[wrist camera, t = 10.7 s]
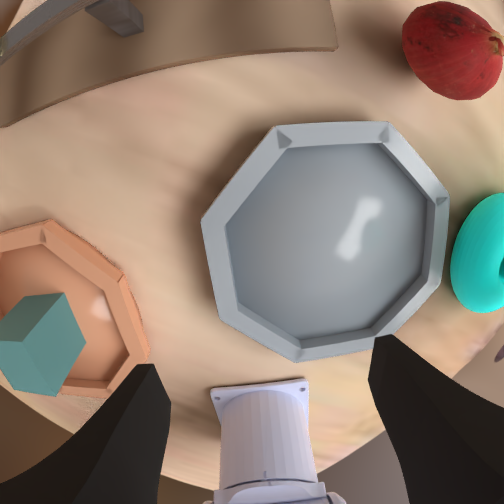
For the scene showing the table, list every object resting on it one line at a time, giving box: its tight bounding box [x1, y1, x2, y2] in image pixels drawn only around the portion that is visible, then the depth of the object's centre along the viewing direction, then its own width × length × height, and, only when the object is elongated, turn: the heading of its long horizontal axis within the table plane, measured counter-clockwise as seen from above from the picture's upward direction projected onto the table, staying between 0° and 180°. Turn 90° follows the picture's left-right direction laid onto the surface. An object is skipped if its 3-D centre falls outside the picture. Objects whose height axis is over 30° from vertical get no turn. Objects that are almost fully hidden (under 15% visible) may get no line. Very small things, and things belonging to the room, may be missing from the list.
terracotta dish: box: [0, 219, 150, 398], centre depth 19 cm, size 15×15×2 cm
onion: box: [402, 1, 504, 100], centre depth 10 cm, size 6×6×8 cm
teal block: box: [0, 293, 87, 397], centre depth 17 cm, size 4×4×6 cm
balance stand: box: [0, 0, 338, 128], centre depth 11 cm, size 22×6×6 cm, turn 97°
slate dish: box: [200, 121, 450, 363], centre depth 18 cm, size 15×15×2 cm
